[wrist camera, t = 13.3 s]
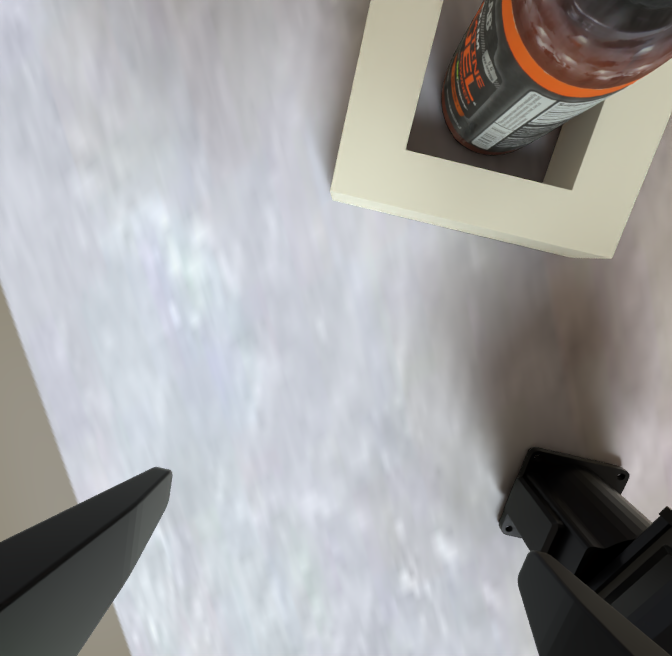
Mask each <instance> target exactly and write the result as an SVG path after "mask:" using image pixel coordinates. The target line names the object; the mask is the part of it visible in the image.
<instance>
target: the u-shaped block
mask: <svg viewBox="0 0 672 656" xmlns="http://www.w3.org/2000/svg"><path fill="white" fill-rule="evenodd" d="M442 4H443V0H371V1H370V6H369V11H368V16H367V20H366V25H365V30H364V34H363V39H362V44H361V48H360V53H359V58H358V62H357V67H356V72H355V76H354V81H353V86H352V91H351V95H350V100H349V105H348V109H347V114H346V119H345V123H344V128H343V133H342V137H341V142H340V147H339V151H338V156H337V161H336V165H335V170H334V175H333V180H332V184H331V189H330V192H331V196H332V200H333V201H337V202H342V203H346V204H350V205H354V206H358V207H362V208H366V209H371V210H375V211H379V212H383V213H387V214H391V215H396V216H400V217H404V218H408V219H412V220H416V221H421V222H425V223H429V224H433V225H437V226H441V227H445V228H450V229H454V230H458V231H462V232H466V233H470V234H475V235H479V236H483V237H487V238H491V239H495V240H499V241H504V242H508V243H512V244H516V245H520V246H524V247H529V248H533V249H537V250H541V251H545V252H549V253H553V254H558V255H562V256H566V257H570V258H600V259H612V257H613V255H614V252H615V250H616V247H617V245H618V242H619V240H620V238H621V235H622V233H623V230H624V228H625V225H626V223H627V220H628V218H629V216H630V213H631V211H632V208H633V206H634V203H635V201H636V198H637V196H638V193H639V191H640V189H641V186H642V184H643V181H644V179H645V176H646V174H647V171H648V169H649V167H650V164H651V162H652V159H653V157H654V154H655V152H656V149H657V147H658V145H659V142H660V140H661V137H662V135H663V132H664V130H665V127H666V125H667V123H668V120H669V118H670V115H671V113H672V58H671V59H670V60H668V61H667V62H666V63H664V64H663V65H661V66H660V67H658V68H657V69H655V70H654V71H652V72H651V73H649V74H648V75H646V76H644V77H643V78H641V79H639V80H637V81H636V82H634V83H633V84H631V85H629V86H628V87H626V88H625V89H623V90H621V91H619V92H617V93H615V94H614V95H612V96H610V97H608V98H607V99H605V100H603V101H601V102H600V103H598V104H596V105H595V106H593V107H591V108H589V109H588V110H586V111H584V112H583V113H581V114H580V115H578V116H576V117H574V118H572V119H571V120H569V121H567V122H565V123H564V124H563V125H562V128H561V131H560V134H559V137H558V140H557V143H556V145H555V148H554V151H553V154H552V157H551V160H550V163H549V166H548V169H547V172H546V174H545V177H544V180H543V183H539V182H535V181H531V180H527V179H523V178H519V177H514V176H510V175H506V174H502V173H498V172H494V171H490V170H486V169H482V168H478V167H474V166H470V165H465V164H461V163H457V162H453V161H449V160H445V159H441V158H437V157H433V156H429V155H425V154H420V153H416V152H412V151H408V150H406V146H407V142H408V138H409V134H410V130H411V126H412V122H413V118H414V114H415V110H416V106H417V102H418V99H419V95H420V91H421V87H422V83H423V79H424V75H425V71H426V67H427V63H428V59H429V55H430V51H431V47H432V44H433V40H434V36H435V32H436V28H437V24H438V20H439V16H440V12H441V8H442Z"/></svg>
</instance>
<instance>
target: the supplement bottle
mask: <svg viewBox="0 0 672 656" xmlns="http://www.w3.org/2000/svg"><path fill="white" fill-rule="evenodd" d="M671 58H672V0H484V1H483V3H482V5H481V7H480V8H479V10H478V12H477V14H476V15H475V17H474V19H473V20H472V22H471V24H470V26H469V28H468V30H467V32H466V33H465V35H464V36H463V39H462V41H461V43H460V44H459V46H458V48H457V50H456V51H455V53H454V55H453V58H452V59H451V62H450V65H449V67H448V69H447V72H446V75H445V79H444V83H443V87H442V109H443V114H444V118H445V121H446V123H447V125H448V128H449V130H450V131H451V132H452V134H453V136H454V138H455V139H456V140H457V141H459V142H460V143H461V144H462V145H463V146H465V147H466V148H469V149H470V150H472V151H474V152H477V153H480V154H484V155H500V154H506V153H509V152H513V151H515V150H517V149H519V148H521V147H523V146H525V145H527V144H529V143H531V142H533V141H534V140H536V139H538V138H540V137H541V136H543V135H545V134H546V133H548V132H550V131H552V130H553V129H555V128H557V127H559V126H560V125H562V124H564V123H565V122H567V121H569V120H571V119H572V118H574V117H576V116H578V115H580V114H581V113H583V112H584V111H586V110H588V109H589V108H591V107H593V106H595V105H596V104H598V103H600V102H601V101H603V100H605V99H607V98H608V97H610V96H612V95H614V94H615V93H617V92H619V91H621V90H623V89H625V88H626V87H628V86H629V85H631V84H633V83H634V82H636V81H637V80H639V79H641V78H643V77H644V76H646V75H648V74H649V73H651V72H652V71H654V70H655V69H657V68H658V67H660V66H661V65H663V64H664V63H666V62H667V61H668V60H670V59H671Z"/></svg>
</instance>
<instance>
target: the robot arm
mask: <svg viewBox="0 0 672 656" xmlns="http://www.w3.org/2000/svg"><path fill="white" fill-rule="evenodd" d="M536 455H539V456H538V457H536V458H534V457H535V456H536ZM619 474H620V475H619ZM618 475H619V476H618ZM628 479H629V473H628V472H627V471H626V470H625V469H623V468H622V467H620V466H616V465H612V464H607V463H603V462H598V461H594V460H590V459H585V458H581V457H577V456H572V455H568V454H563V453H559V452H555V451H550V450H546V449H542V448H531V449H530V450H529V451H528V453H527V455H526V458H525V460H524V462H523V465H522V467H521V470H520V472H519V475H518V477H517V478H516V481H515V483H514V486H513V488H512V491H511V493H510V496H509V498H508V500H507V503H506V505H505V509H504V512H503V514H502V517H501V519H500V522H499V527H500V529H501V531H502V532H503V533H504V534H506V535H509V536H514V537H518V538H522V539H523V540H524V542H525V544H526V545H527V547H528V548H529V550H530V552H529V553H528V554H527V557H526V559H525V561H524V563H523V566H522V568H521V570H520V572H519V575H518V587H519V590H520V594H521V597H522V600H523V604H524V607H525V610H526V614H527V617H528V620H529V624H530V627H531V630H532V634H533V637H534V640H535V644H536V647H537V650H538V653H539V656H672V509H670V508H669V507H668V506H666V507H665V508H664V509H663V510H662V511H661V512H660V513H659V515H660V517H658V518H657V519H656V520H655V521H654V522H653V523H652V522H651V521H650V520H649V519H647V518H646V517H645V516H644V515H643V514H642V513H641V512H640V511H638V510H637V509H636V508H635V507H634V506H633V505H632V504H630V503H629V502H628V501H627V500H626V499H625V498H624V497H623V496H621V493H622V491H623V489H624V487H625V485H626V483H627V481H628ZM171 482H172V471H171V470H169V469H164V468H160V467H154V468H151V469H149V470H147V471H145V472H143V473H141V474H139V475H137V476H135V477H133V478H131V479H129V480H127V481H125V482H123V483H120V484H118V485H116V486H114V487H112V488H110V489H108V490H106V491H104V492H102V493H100V494H98V495H96V496H94V497H92V498H90V499H88V500H86V501H84V502H82V503H79V504H77V505H75V506H73V507H71V508H69V509H67V510H65V511H63V512H61V513H59V514H57V515H55V516H53V517H51V518H49V519H47V520H45V521H43V522H41V523H38V524H37V525H35V526H33V527H30V528H28V529H26V530H24V531H22V532H20V533H18V534H16V535H14V536H12V537H10V538H8V539H6V540H4V541H2V542H0V656H77V655H78V653H79V652H80V650H81V649H82V647H83V646H84V644H85V643H86V641H87V640H88V638H89V637H90V635H91V634H92V632H93V631H94V629H95V628H96V626H97V625H98V623H99V622H100V620H101V619H102V617H103V616H104V614H105V613H106V611H107V610H108V608H109V607H110V605H111V604H112V602H113V601H114V599H115V598H116V596H117V595H118V593H119V592H120V590H121V588H122V587H123V585H124V584H125V582H126V581H127V579H128V577H129V576H130V574H131V572H132V570H133V569H134V567H135V565H136V563H137V561H138V559H139V558H140V556H141V554H142V552H143V550H144V548H145V546H146V545H147V543H148V541H149V539H150V537H151V535H152V533H153V532H154V530H155V528H156V526H157V524H158V522H159V520H160V518H161V517H162V515H163V513H164V511H165V509H166V507H167V504H168V501H169V496H170V489H171ZM506 526H509V527H506Z"/></svg>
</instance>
